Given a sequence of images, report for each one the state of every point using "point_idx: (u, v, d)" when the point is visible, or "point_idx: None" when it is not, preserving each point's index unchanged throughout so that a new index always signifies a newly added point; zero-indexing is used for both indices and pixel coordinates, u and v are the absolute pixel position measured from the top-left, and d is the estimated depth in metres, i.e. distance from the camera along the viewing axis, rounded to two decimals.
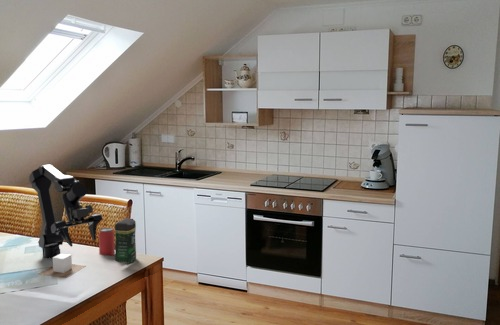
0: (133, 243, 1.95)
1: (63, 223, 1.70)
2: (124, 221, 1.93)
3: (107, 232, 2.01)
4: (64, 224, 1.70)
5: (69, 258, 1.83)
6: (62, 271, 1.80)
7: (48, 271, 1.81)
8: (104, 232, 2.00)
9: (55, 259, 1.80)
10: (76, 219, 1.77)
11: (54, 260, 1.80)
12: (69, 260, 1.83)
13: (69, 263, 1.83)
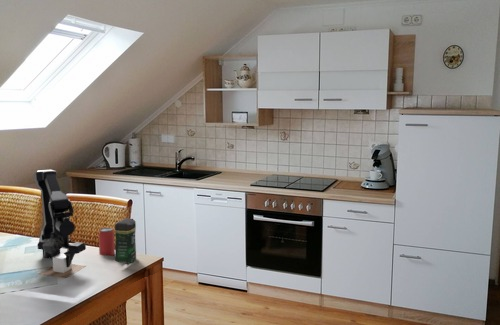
0: (133, 243, 1.95)
1: (42, 246, 1.80)
2: (124, 221, 1.93)
3: (107, 232, 2.01)
4: (43, 247, 1.80)
5: None
6: (62, 271, 1.80)
7: (48, 271, 1.81)
8: (104, 232, 2.00)
9: (55, 259, 1.80)
10: None
11: (54, 260, 1.80)
12: None
13: None
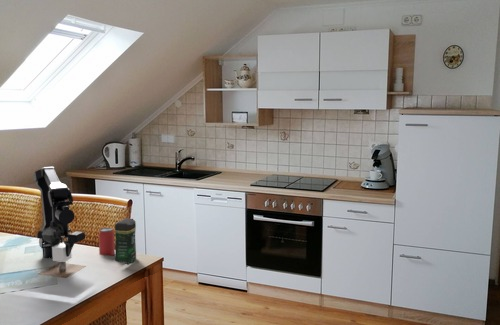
0: (133, 243, 1.95)
1: (42, 235, 1.79)
2: (124, 221, 1.93)
3: (107, 232, 2.01)
4: (42, 236, 1.79)
5: None
6: (62, 260, 1.79)
7: (48, 271, 1.81)
8: (104, 232, 2.00)
9: (55, 248, 1.79)
10: None
11: (53, 249, 1.80)
12: None
13: None
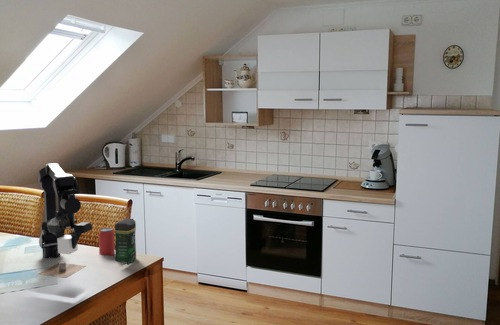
0: (133, 243, 1.95)
1: (46, 227, 1.71)
2: (124, 221, 1.93)
3: (107, 232, 2.01)
4: (47, 228, 1.71)
5: None
6: (67, 252, 1.71)
7: (48, 271, 1.81)
8: (104, 232, 2.00)
9: (60, 240, 1.71)
10: None
11: (59, 241, 1.71)
12: None
13: None
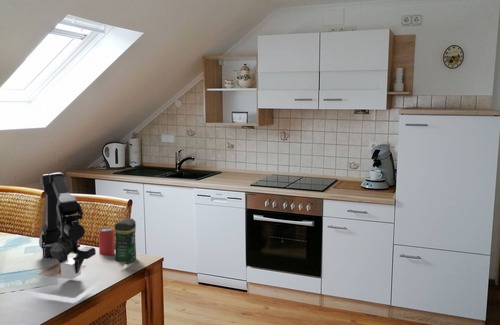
0: (133, 243, 1.95)
1: (49, 251, 1.70)
2: (124, 221, 1.93)
3: (107, 232, 2.01)
4: (50, 252, 1.70)
5: None
6: (71, 277, 1.70)
7: (48, 271, 1.81)
8: (104, 232, 2.00)
9: (63, 265, 1.70)
10: None
11: (62, 266, 1.70)
12: None
13: None
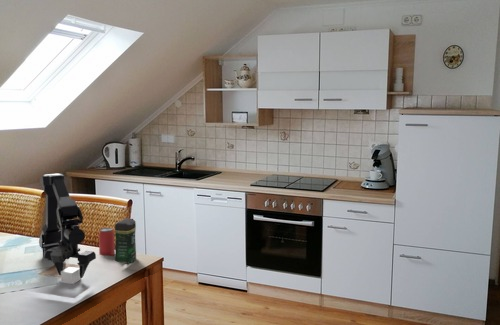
0: (133, 243, 1.95)
1: (50, 255, 1.70)
2: (124, 221, 1.93)
3: (107, 232, 2.01)
4: (50, 256, 1.70)
5: (78, 272, 1.73)
6: None
7: (48, 271, 1.81)
8: (104, 232, 2.00)
9: (63, 273, 1.70)
10: None
11: (62, 274, 1.70)
12: (78, 274, 1.73)
13: (78, 277, 1.73)
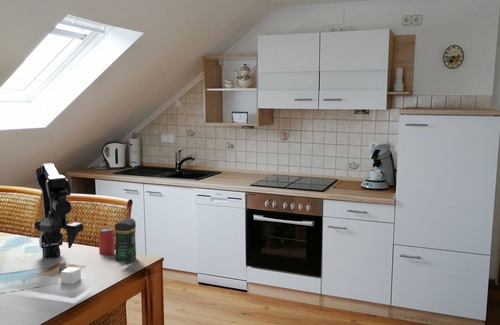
0: (133, 243, 1.95)
1: (39, 226, 1.77)
2: (124, 221, 1.93)
3: (107, 232, 2.01)
4: (40, 227, 1.77)
5: (78, 272, 1.73)
6: None
7: (48, 271, 1.81)
8: (104, 232, 2.00)
9: (63, 273, 1.70)
10: None
11: (62, 274, 1.70)
12: (78, 274, 1.73)
13: (78, 277, 1.73)
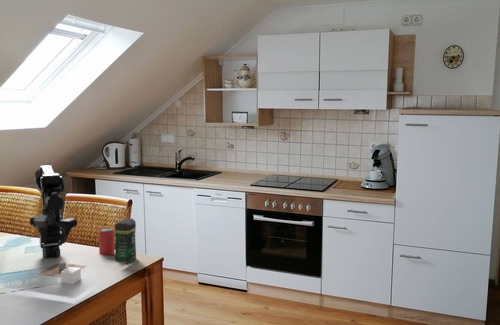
0: (133, 243, 1.95)
1: (34, 222, 1.82)
2: (124, 221, 1.93)
3: (107, 232, 2.01)
4: (35, 223, 1.82)
5: (78, 272, 1.73)
6: None
7: (48, 271, 1.81)
8: (104, 232, 2.00)
9: (63, 273, 1.70)
10: None
11: (62, 274, 1.70)
12: (78, 274, 1.73)
13: (78, 277, 1.73)
